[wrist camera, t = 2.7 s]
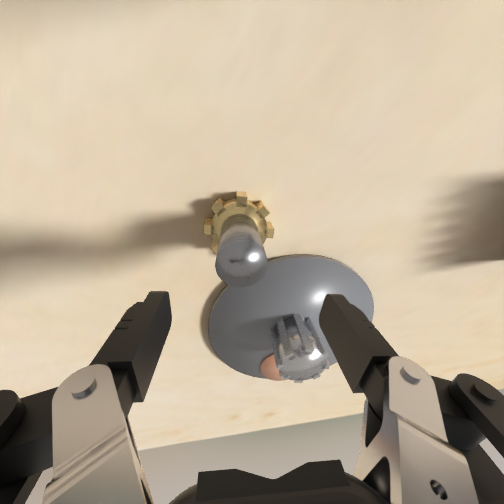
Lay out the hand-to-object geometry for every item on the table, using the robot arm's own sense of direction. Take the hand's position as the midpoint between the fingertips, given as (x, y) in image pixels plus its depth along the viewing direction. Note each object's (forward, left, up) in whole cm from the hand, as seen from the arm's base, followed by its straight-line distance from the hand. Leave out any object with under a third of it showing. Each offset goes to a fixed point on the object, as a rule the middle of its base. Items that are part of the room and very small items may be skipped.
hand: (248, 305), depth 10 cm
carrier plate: (+14, +8, -11) cm, 19 cm away
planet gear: (0, 0, -11) cm, 11 cm away
